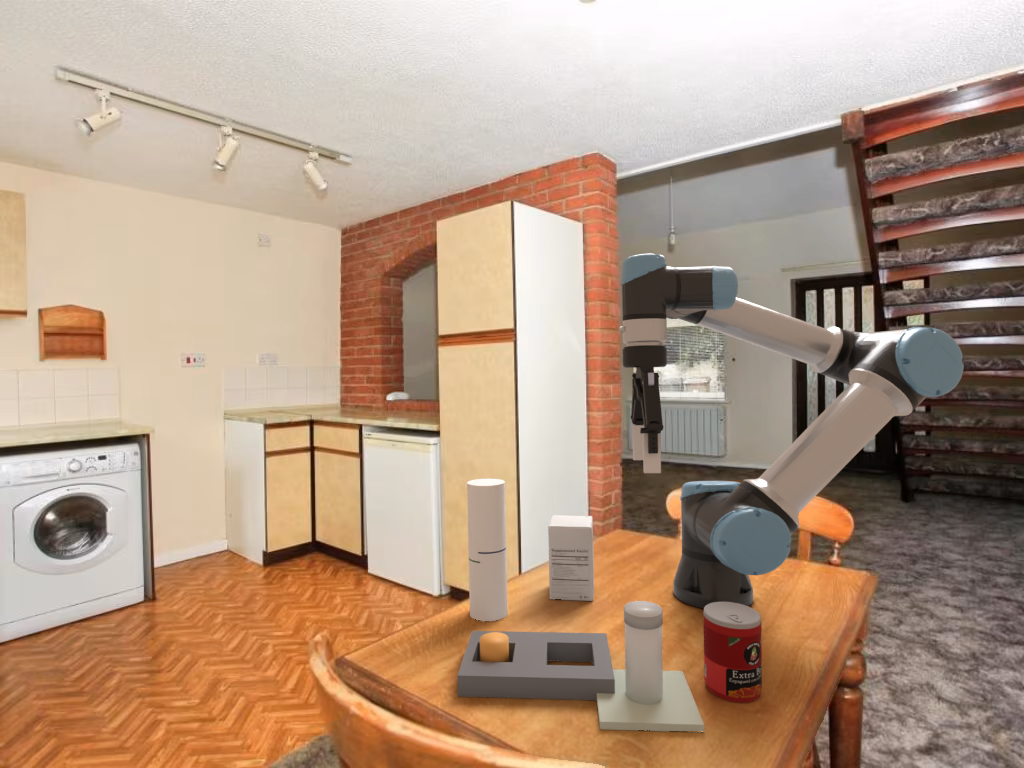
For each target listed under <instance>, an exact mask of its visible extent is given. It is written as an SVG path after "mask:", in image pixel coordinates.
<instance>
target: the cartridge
mask: <svg viewBox="0 0 1024 768" xmlns="http://www.w3.org/2000/svg"><path fill="white" fill-rule="evenodd" d="M663 616H664V614H663V608H662V606H660V605H659V604H657V603H655V602H652V601H648V600H647V601H646V600H635V601H634V600H632V601H630V602H627V603H626V604H625V605H624V606H623V621H624V659H625V660H624V662H625V663H624V666H625V667H624V668H625V669H624V670H625V681H626V696H627V697H628V698H629V699H630V700H631V701H633V702H635V703H638V704H643V705H652V704H656V703H659V702H660V701H661V700H662V698H663V671H664V669H663V624H664V620H663Z"/></svg>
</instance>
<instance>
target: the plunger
mask: <svg viewBox="0 0 1024 768" xmlns="http://www.w3.org/2000/svg"><path fill="white" fill-rule="evenodd" d="M479 662H509V638H508V636H507V635H506V634H503V633H499V632H491V633H487V634H484V635H482V636H481V637H480V661H479Z"/></svg>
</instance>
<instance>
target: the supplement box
mask: <svg viewBox="0 0 1024 768" xmlns="http://www.w3.org/2000/svg"><path fill="white" fill-rule="evenodd" d="M593 527H594V525H593V516H592V515H564V514H563V515H562V514H553V515H551V518H550V520H549V523H548V527H547V528H548V529H547V532H548V533H547V534H548V572H549V573H548V580H549V581H548V582H549V600H555V599H561V601H583V602H584V601H585V602H586V601H587V602H594V596H595V595H594V594H595V574H594V573H595V568H594V567H595V565H594V564H595V563H594V532H593V531H594V528H593Z"/></svg>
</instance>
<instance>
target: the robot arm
mask: <svg viewBox="0 0 1024 768" xmlns="http://www.w3.org/2000/svg"><path fill="white" fill-rule="evenodd" d="M666 261H667V260H666V257H665V256H664V255H662V254H657V253H656V254H654V253H640V254H635V255H634V254H633V255H631V256H628V257H626V259H624V260H623V263H622V267H621V269H622V270H621V283H620V286H621V305H622V306H621V310H622V326H619V327H618V329H619V330H618V331H619V332H620V333H621V332H622V343H623V344H624V345H625V344H626V346H623V348H622V367H623V368H628V369H631V368H632V369H633V368H634V369H636V370H635V371H634V372H632V375H631V377H632V380H631V385H632V390H631V391H632V392H631V395H632V396H631V397H632V398H631V413H630V419H631V423H632V460H633V461H643V463H642V464H643V473H644V474H662V455H661V454H662V453H661V451H662V449H661V448H662V447H661V442H662V440H661V439H662V438H661V437H662V434H661V432H662V431H663V430H664V424H663V415H662V405H661V394H660V393H661V392H660V380H659V378H660V374H659V372H655V370H654V369H655V368H664V367H666V366H667V364H668V355H667V354H668V351H667V350H668V349H667V347H666V345H664V344H665V343H666V342H667V341H668V336H667V333H668V328H667V327H668V325H667V319H669V320H678V319H679V320H681V321H683V322H688V323H690V324H694V325H697V326H699V327H703V328H704V329H708V330H711V331H713V332H717V333H719V334H722V335H725V336H728V337H731V338H734V339H737V340H740V341H742V342H745V343H748V344H750V345H754V346H757V347H758V348H762V349H764V350H767V351H770V352H773V353H776V354H779V355H781V356H785V357H787V358H790V359H793V360H796V361H798V362H802V363H804V364H807V365H809V366H810V369H811V370H812V372H815V373H817V374H819V375H823V376H825V377H828V378H831V380H832V379H833V380H835V381H837V382H841V383H842V384H845V385H848V386H847V387H846V388H845V389H844V390H843V391H841V393H840V394H839V395H838V396H837V397H836V398H835V399H834V400H833V401H832V403H830V404H829V405H828V406H827V407H826V408H825V409H824V410H823V412H821V413H820V414H819V415H818V417H816V419H815V420H813V422H812V423H811V424H810V425H809V426H808V427H807V428H806V429H804V431H802V433H801V434H800V435H799V436H798V437H797V438H796V439H795V440H794V441H793V442H792V443H791V444H790V445H789V446H788V447H787V448H786V449H785V450H784V451H783V452H782V453H781V454H780V456H779V457H777V459H776V460H775V461H773V463H772V464H771V465H769V467H768V468H767V469H766V470H765V471H763V473H762V474H761V475H760V476H759V477H758V478H755V479H754V478H750V479H748V478H747V479H743V480H742V481H741V483H740V482H739V481H732V480H731V481H729V480H697V481H696V480H695V481H688V482H685V483H684V484H682V486H681V491H680V492H681V493H680V498H679V500H680V504H681V505H680V513H681V514H680V515H681V517H680V519H681V556H680V559H679V560H680V561H679V563H678V566H677V568H676V569H677V570H676V571H675V576H674V578H673V582H672V583H673V586H672V587H673V591H672V592H673V595H674V596H675V598H677V599H678V600H679V601H681V602H683V603H684V604H687V605H690V606H691V607H696V608H699V609H704V607H705V606H706V605H708V604H710V603H714V602H734V603H739V604H742V605H746V606H748V607H750V606H751V605H752V604H753V602H754V588H753V585H752V582H751V579H750V576H761V575H766V574H769V573H771V572H773V571H775V570H776V569H778V568H779V567H780V566H782V565H783V563H785V561H786V560H787V559H788V557H789V555H790V552H791V543H792V535H793V534H794V533H795V532H796V531H797V530H798V529H799V528H800V521H799V520H800V519H799V514H800V513H801V512H802V511H803V510H804V508H805V507H806V506H807V505H809V503H811V501H812V500H813V499H814V498H816V496H817V495H818V494H819V493H820V492H822V490H823V489H824V488H825V487H826V486H827V485H828V484H830V482H831V481H832V480H833V479H834V478H835V477H836V476H837V475H838V474H839V473H840V472H841V471H842V470H843V469H844V468H845V467H846V465H848V464H849V462H851V461H852V459H854V457H855V456H856V455H857V454H858V453H859V452H860V451H861V450H863V448H864V447H865V446H867V444H868V443H869V442H870V441H871V440H872V439H873V438H874V437H875V436H876V435H877V434H878V433H879V432H880V431H881V430H883V428H884V427H885V426H886V425H887V424H888V423H889V422H890V421H891V420H892V418H894V417H904V416H905V417H906V416H909V415H910V414H912V412H913V411H914V410H916V409H917V407H918V406H919V405H920V404H921V403H922V402H923V401H924V400H925V399H926V398H937V397H940V396H944V395H946V394H948V393H950V392H951V391H952V390H954V389H955V388H956V387H957V386H958V384H959V383H960V381H961V379H962V377H963V373H964V368H965V367H964V366H965V365H964V363H963V358H964V356H963V353H962V349H961V348H960V346H959V344H958V343H957V341H956V340H955V339H954V338H953V337H952V336H951V335H950V334H948V333H947V332H946V331H943V330H941V329H938V328H934V327H923V326H913V327H908V328H906V329H905V328H904V329H896V330H895V329H894V330H885V331H883V330H882V331H872V332H869V331H868V332H865V331H863V332H861V331H859V332H858V331H851V330H847V329H843V328H841V327H837V326H831V327H828V328H824V327H822V326H819V325H815V324H812V323H810V322H807V321H805V320H802V319H799V318H796V317H793V316H790V315H788V314H784V313H781V312H778V311H776V310H774V309H771V308H768V307H764V306H762V305H759V304H756V303H754V302H751V301H749V300H745V299H742V298H739V297H737V296H738V291H739V282H738V281H739V279H738V277H737V276H738V275H737V273H736V272H735V271H734V269H733V268H732V267H730V266H716V265H712V266H685V267H684V266H683V267H682V266H680V267H678V266H677V267H673V266H668V264H667V262H666Z"/></svg>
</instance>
